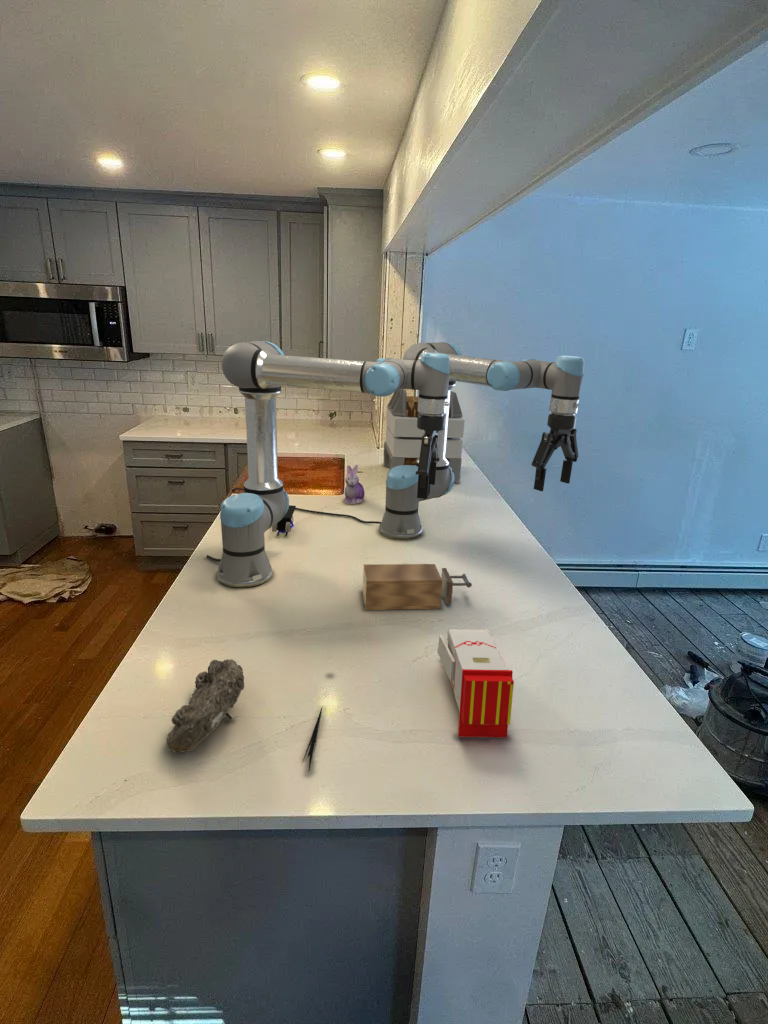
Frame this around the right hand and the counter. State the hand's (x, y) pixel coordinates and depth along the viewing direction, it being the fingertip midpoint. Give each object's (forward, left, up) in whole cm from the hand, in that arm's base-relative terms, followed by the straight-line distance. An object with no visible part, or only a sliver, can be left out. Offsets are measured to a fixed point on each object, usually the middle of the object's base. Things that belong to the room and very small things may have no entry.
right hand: (551, 486), depth 165 cm
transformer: (-101, +46, -28) cm, 115 cm away
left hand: (-17, -34, 0) cm, 38 cm away
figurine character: (-73, -46, -28) cm, 91 cm away
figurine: (-85, -6, -28) cm, 90 cm away
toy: (+26, -61, -28) cm, 72 cm away
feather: (+13, -91, -28) cm, 96 cm away
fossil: (0, -107, -28) cm, 110 cm away
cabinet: (-12, -47, -28) cm, 56 cm away
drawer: (-9, -41, -27) cm, 50 cm away
